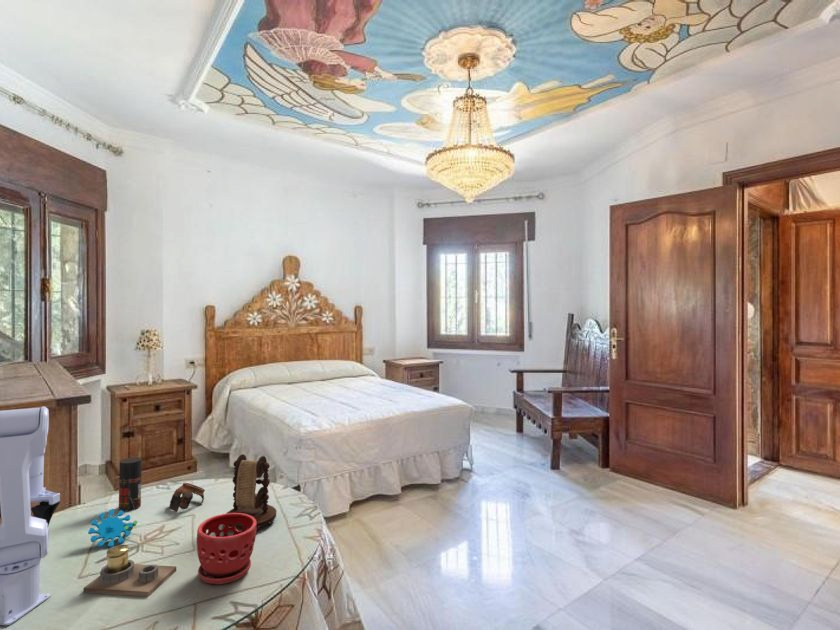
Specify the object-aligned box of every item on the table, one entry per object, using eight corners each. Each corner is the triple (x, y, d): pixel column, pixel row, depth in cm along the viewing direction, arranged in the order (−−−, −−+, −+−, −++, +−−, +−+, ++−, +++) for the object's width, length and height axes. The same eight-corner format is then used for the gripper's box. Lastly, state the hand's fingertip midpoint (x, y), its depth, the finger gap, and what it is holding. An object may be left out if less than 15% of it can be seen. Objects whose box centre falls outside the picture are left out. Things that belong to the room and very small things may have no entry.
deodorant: (120, 505, 144) (121, 458, 144) (142, 502, 146) (143, 456, 146) (116, 512, 138) (117, 464, 138) (139, 509, 141) (140, 461, 141)
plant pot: (190, 594, 99) (191, 540, 99) (201, 562, 112) (202, 514, 112) (253, 585, 103) (254, 533, 103) (257, 555, 115) (258, 509, 115)
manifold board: (148, 596, 98) (148, 582, 98) (83, 592, 99) (83, 578, 99) (176, 570, 108) (176, 558, 108) (116, 567, 109) (117, 554, 109)
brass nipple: (121, 580, 102) (121, 554, 102) (102, 580, 102) (102, 554, 102) (132, 569, 106) (132, 544, 106) (114, 569, 106) (114, 544, 106)
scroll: (212, 531, 127) (213, 461, 128) (241, 509, 142) (243, 446, 142) (259, 537, 125) (261, 465, 125) (285, 514, 139) (286, 450, 139)
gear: (88, 548, 114) (90, 510, 120) (83, 559, 117) (85, 521, 123) (138, 541, 121) (137, 505, 127) (132, 550, 124) (132, 515, 130)
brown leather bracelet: (166, 505, 145) (180, 479, 149) (195, 514, 148) (208, 489, 152) (165, 510, 135) (180, 482, 139) (196, 520, 138) (210, 492, 141)
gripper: (71, 470, 110) (70, 525, 110) (15, 468, 111) (14, 523, 111) (45, 480, 103) (44, 540, 103) (-14, 478, 104) (-16, 537, 104)
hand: (26, 532), depth 106 cm, fingers open, 7 cm apart
